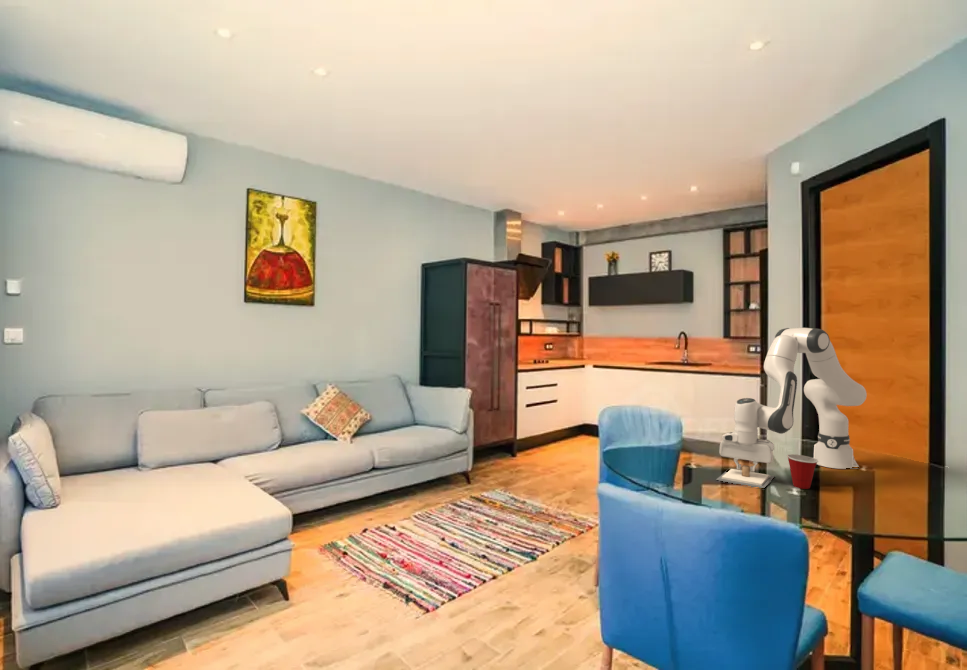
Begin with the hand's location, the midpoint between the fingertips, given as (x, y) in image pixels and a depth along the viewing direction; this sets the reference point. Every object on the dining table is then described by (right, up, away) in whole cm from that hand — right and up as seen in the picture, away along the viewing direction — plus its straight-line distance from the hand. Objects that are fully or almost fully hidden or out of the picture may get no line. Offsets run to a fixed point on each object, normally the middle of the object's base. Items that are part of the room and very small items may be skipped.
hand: (745, 469), depth 217 cm
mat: (0, -4, 0) cm, 4 cm away
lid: (0, -3, 0) cm, 3 cm away
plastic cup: (+17, -4, -10) cm, 21 cm away
